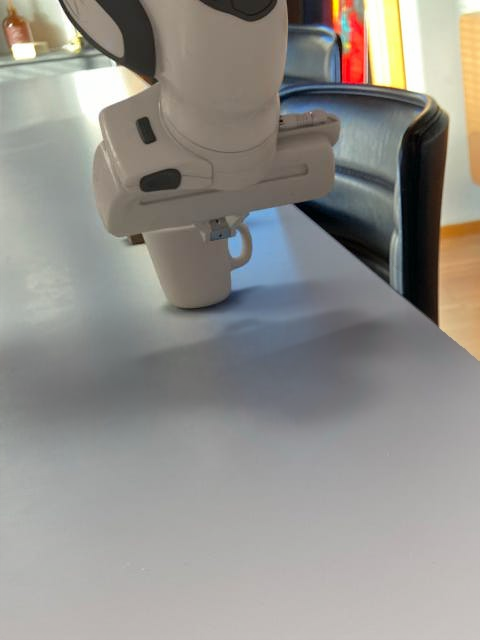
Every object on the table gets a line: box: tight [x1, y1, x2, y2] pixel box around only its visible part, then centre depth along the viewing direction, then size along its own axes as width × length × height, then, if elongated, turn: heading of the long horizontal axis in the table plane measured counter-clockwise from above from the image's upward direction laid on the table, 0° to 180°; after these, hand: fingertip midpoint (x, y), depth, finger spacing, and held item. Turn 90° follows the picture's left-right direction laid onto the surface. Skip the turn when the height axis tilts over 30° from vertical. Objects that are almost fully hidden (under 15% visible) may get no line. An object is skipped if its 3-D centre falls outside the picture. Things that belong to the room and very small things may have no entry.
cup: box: [142, 221, 254, 309], centre depth 101 cm, size 11×8×8 cm
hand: (217, 233), depth 93 cm, fingers closed
